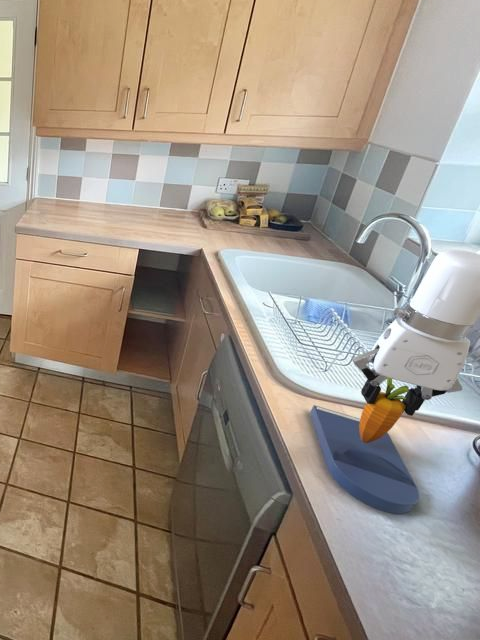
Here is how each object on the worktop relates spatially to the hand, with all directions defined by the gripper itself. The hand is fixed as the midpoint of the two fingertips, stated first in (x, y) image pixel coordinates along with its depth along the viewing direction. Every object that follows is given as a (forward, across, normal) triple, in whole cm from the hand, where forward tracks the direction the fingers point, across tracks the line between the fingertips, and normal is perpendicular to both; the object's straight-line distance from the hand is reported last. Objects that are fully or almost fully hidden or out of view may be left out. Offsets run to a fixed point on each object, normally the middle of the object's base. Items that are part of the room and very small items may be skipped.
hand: (386, 404), depth 77 cm
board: (+13, 0, -2) cm, 13 cm away
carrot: (+10, 0, 0) cm, 10 cm away
